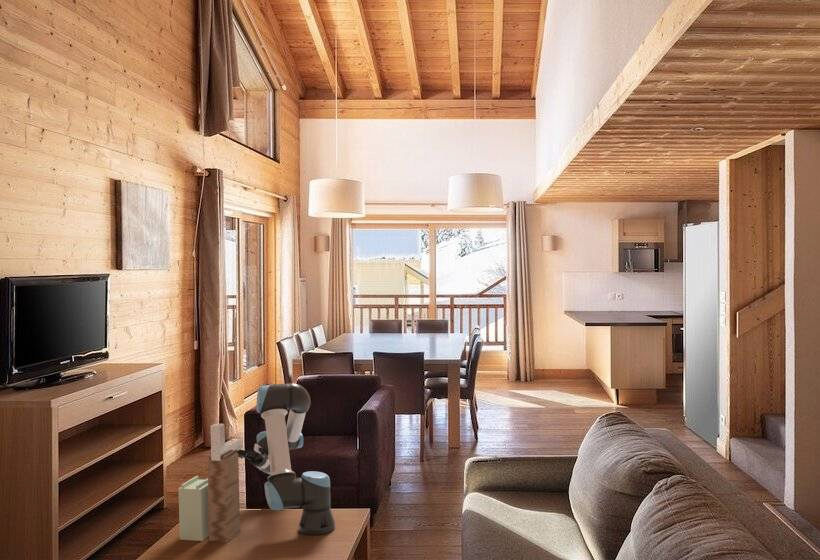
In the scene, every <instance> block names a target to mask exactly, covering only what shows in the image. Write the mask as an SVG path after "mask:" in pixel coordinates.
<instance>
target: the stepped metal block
mask: <svg viewBox="0 0 820 560" xmlns="http://www.w3.org/2000/svg"><path fill="white" fill-rule="evenodd" d="M225 431H226V430H225V423H214V424H212V425H210V455H211V460H213V461H221V460H222V457H223V456H224V455H226V454H228V453H230V452H231V451H233V450H235V449H236V450H237V451H238V450H240V449H241V450H242V449H243V448H244V439H243V438H242V437H241V438H240V437H239V438H238V437H236V438H235V437H233V438H232V439H230V440H228V441H226V436H225V434H226V433H225Z"/></svg>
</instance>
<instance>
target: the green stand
mask: <svg viewBox="0 0 820 560" xmlns="http://www.w3.org/2000/svg"><path fill="white" fill-rule="evenodd" d="M199 478H200V476H199V475H195V476H194V477H192V478H190V479H189V480H187V481H186V482H184V483H182V484H181V485H180V486H179V488H178V517H179V520H178V521H179V540H180V541H181V540H183V541H196V542H197V541H199V542H203V541H204V540H205V539H207V538H208V537H209V500H208V477H207V478H206V479H199Z"/></svg>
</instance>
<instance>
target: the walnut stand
mask: <svg viewBox="0 0 820 560" xmlns="http://www.w3.org/2000/svg"><path fill="white" fill-rule="evenodd" d="M239 464H240V463H239V457H238V453H237V450H236V449H235V450H233V451H231V452H230V453H228V454H226V455H224V456H223V457H222V460H221V461H213V460H211V454H210V455H209V456H208V459H207V478H208V500H209V536H208V537H209V542H221V543H228V542H230V541H231V540H232V539H233V538H234V537H235V536H237V535H238V534H239V533H240V532H241V513H240V510H241V509H240V477H239V476H240V471H239V469H240V468H239Z"/></svg>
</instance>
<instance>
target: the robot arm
mask: <svg viewBox="0 0 820 560" xmlns="http://www.w3.org/2000/svg"><path fill="white" fill-rule="evenodd" d="M255 407H256V412H257V413H258V414H260V416H261V418H262V419H263V420H264V423H265V430H264V431H261V432H259V433H258V434H257V435H256V443H254V445H253V446H254V447H253V450H250V449H242V448H241V449H240V450H238V451H237V453H238V458H240V459H248V462H249V463H250V464H251V466H252V465H253V467H255V468H257V469H259V471H262V472H263V473H265V474H268V475H269V476H267V481H266V482H265V483H264V494H265V499H266V501H267V503H266V504H267V505H268V508H269V509H270V510H271V511H280V510H281V511H283V510H287V509H292V508H300V507H302V513H301V517H300V519H299V522H298V531H299V532H300V533H302V534H305V535H308V536H309V535H310V536H318V535H319V536H320V535H325V534H328V533H331V532H332V531H334V530H335V528H336V520H335V518H334V515H333V513H332V509H331V479H330V476H329V475H328V474H327V473H325V472H322V471H313V470H311V471H305V472H302V474H301V476H300V477H297V476H296V475H297V474H296V472H295V471H293V470H292V465H291V457H290V450H297V449H301V448H303V446H304V436H303V435H304V434H303V433H302V430H303V425H304V421H305V418H306V415H307V414H306V413H307V412H308V411H309V409H310V407H311V397H310V394H309V392H308V391H307V389H306V388H305V387H303V386H302V385H300V384H298V383H295V382H291V383H290V382H289V383H279V384H268V385H261V386H260V387H258V389H257V395H256V406H255ZM288 410H289V412H288ZM287 415H288V417H287V422H286V416H287ZM333 529H334V530H333ZM330 531H331V532H330Z"/></svg>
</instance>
